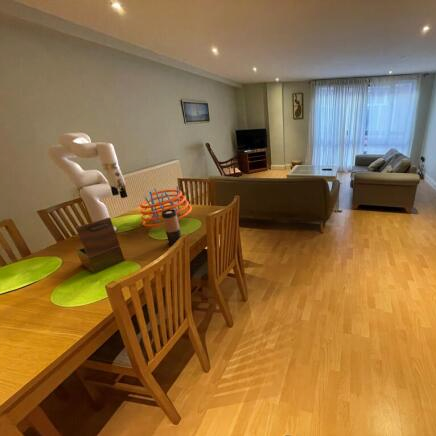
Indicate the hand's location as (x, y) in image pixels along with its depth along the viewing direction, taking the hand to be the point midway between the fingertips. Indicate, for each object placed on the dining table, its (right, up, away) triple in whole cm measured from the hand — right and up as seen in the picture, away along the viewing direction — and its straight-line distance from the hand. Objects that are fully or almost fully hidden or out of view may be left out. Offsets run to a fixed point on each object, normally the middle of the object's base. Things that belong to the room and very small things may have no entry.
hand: (120, 196), depth 139 cm
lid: (+6, -22, -23) cm, 32 cm away
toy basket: (+8, -14, +39) cm, 43 cm away
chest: (+1, -36, -13) cm, 38 cm away
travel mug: (+29, -28, +6) cm, 41 cm away
